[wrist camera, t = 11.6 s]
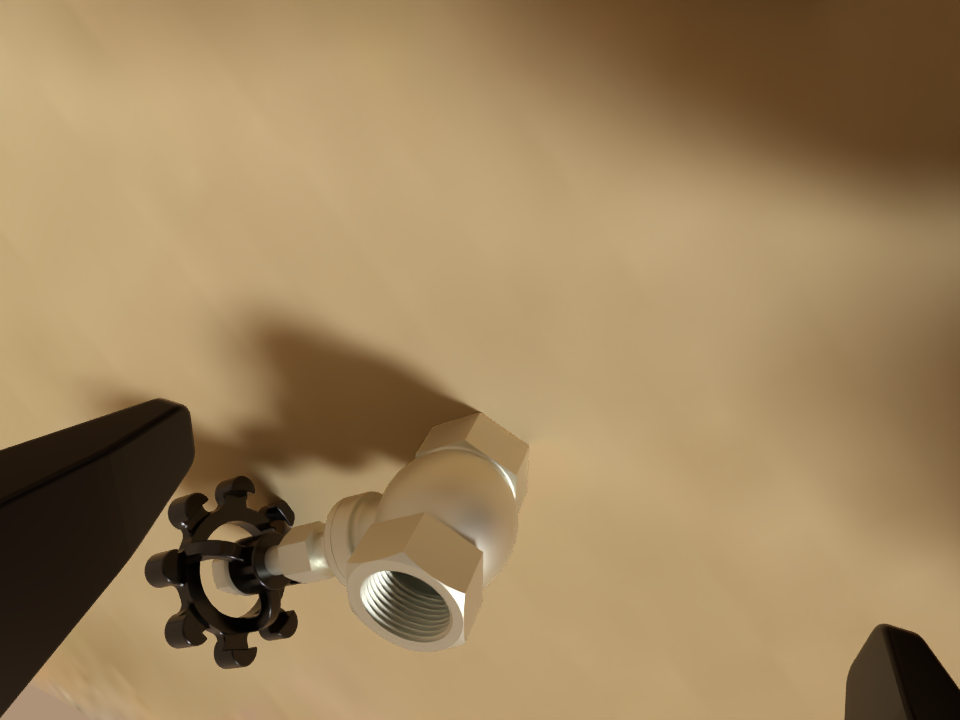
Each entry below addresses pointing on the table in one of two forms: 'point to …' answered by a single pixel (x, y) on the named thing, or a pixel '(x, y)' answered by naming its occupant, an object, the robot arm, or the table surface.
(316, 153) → the table surface
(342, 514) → the valve
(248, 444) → the table surface
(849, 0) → the table surface
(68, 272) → the table surface
